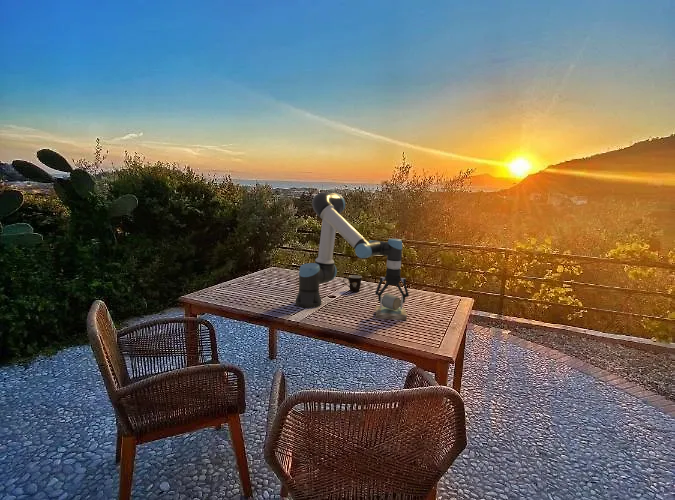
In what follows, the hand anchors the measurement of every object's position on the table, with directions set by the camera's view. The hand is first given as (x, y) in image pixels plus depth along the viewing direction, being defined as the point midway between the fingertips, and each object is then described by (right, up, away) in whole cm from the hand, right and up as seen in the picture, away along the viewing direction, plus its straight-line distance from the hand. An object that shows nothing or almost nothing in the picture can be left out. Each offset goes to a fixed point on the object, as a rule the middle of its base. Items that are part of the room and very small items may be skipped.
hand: (391, 308), depth 203 cm
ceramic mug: (+1, 0, +1) cm, 1 cm away
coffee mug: (-19, +4, +49) cm, 52 cm away
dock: (0, -4, +1) cm, 4 cm away
